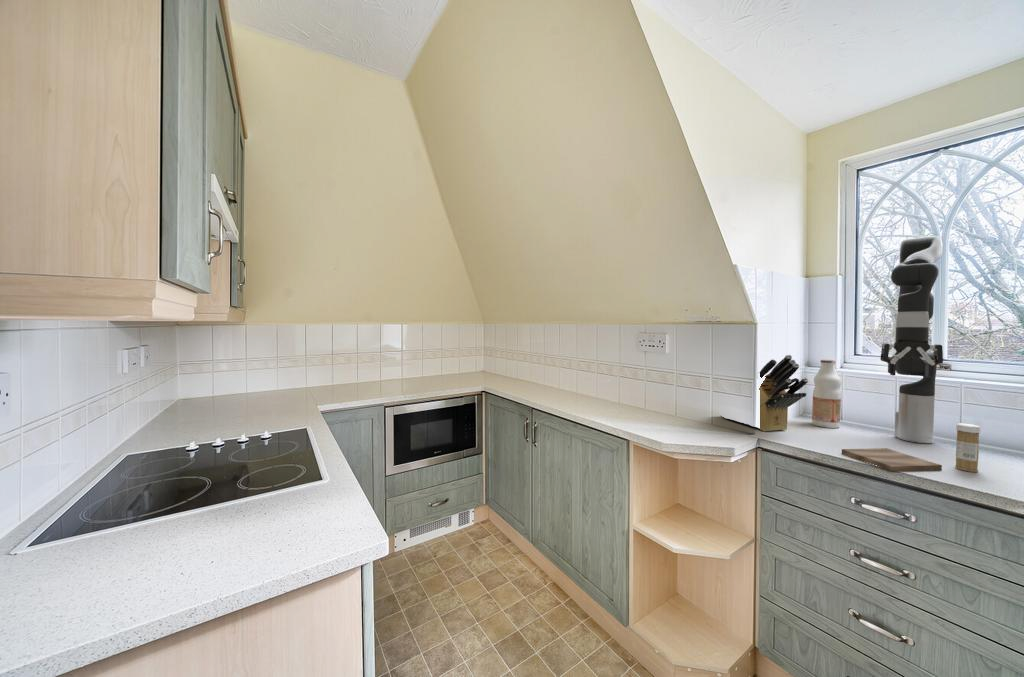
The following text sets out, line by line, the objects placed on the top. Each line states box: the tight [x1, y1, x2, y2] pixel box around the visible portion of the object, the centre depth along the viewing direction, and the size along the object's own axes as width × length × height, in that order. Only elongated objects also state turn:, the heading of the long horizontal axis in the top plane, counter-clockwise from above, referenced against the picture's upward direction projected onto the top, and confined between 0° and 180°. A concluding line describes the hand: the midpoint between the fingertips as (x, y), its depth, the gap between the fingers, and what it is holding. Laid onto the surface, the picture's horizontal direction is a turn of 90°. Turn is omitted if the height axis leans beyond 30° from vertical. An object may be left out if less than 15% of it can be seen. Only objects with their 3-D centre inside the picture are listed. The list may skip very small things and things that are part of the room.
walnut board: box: [841, 447, 943, 472], centre depth 124 cm, size 16×16×2 cm
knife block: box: [759, 354, 809, 433], centre depth 165 cm, size 11×35×31 cm, turn 12°
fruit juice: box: [811, 359, 842, 429], centre depth 168 cm, size 9×9×28 cm
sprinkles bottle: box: [954, 422, 981, 473], centre depth 117 cm, size 5×5×13 cm
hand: (910, 376), depth 128 cm, fingers open, 8 cm apart
